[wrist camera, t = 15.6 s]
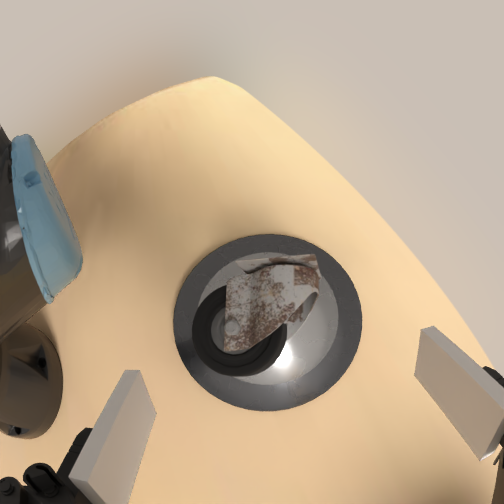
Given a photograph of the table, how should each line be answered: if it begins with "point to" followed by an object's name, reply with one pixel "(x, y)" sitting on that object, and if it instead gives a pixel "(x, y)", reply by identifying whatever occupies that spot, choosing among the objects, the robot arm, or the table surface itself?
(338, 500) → the table surface
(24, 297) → the robot arm
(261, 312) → the caster wheel
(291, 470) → the table surface
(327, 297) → the carrier plate
